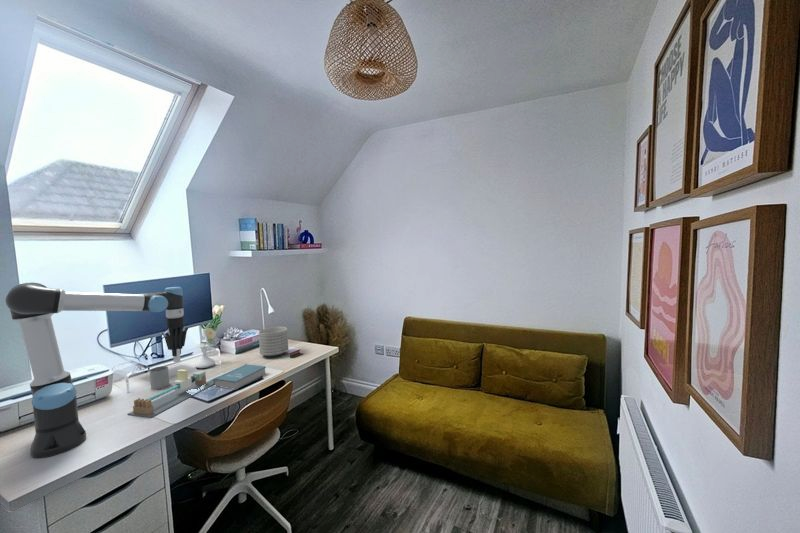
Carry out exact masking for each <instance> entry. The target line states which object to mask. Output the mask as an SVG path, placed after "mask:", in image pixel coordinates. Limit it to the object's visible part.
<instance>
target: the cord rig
mask: <svg viewBox="0 0 800 533" xmlns="http://www.w3.org/2000/svg"><path fill="white" fill-rule="evenodd" d="M190 377H191V381H192V386H190V387H188V388H186V389H184V390H182V391H179V390H175V389H176V388H178V387H180V384H178V385H176V386H173V387H169V388H168V389H166V390H164V391H162V392H159V393H157V394H155V395H153V396H151V397H149V398H146V399H144V398H137V399H134V400H133V406H132V410H133V411H130V412H128V413H127V416H133V417H134V416H135V417H142V418H148V419H152V418H154V417H156V416H157V415H159V414H161V413H163V412H165V411H167V410H169V409H171V408H172V407H174V406H177V405H178V404H180V403H182V402H183V401H184V402H185V401H186V400H187V399H189V398H192V397H193V396H192V395H191V394H189V393H187V392H186V391H188V390H191V389H197V390H198V388H199V389H200V387H201V386H202V385H204V384H206V383H207V384H206V385H205V387H204V389H205V388H207V387H208V386H210V385H212V386H214V385H213V384H214V383H213V382H212V383H211V382H207V377H206V370H205V371H203V370H199V371H195V372H194V373H192V376H190ZM210 387H211V386H210ZM208 388H209V387H208ZM208 388H207V389H208ZM202 390H203V389H202ZM205 390H206V389H205ZM200 391H201V389H200ZM203 391H204V390H203ZM201 392H202V391H201ZM165 394H166V395H165Z"/></svg>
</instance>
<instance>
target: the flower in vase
mask: <svg viewBox="0 0 800 533" xmlns="http://www.w3.org/2000/svg"><path fill="white" fill-rule="evenodd" d="M204 335H205V337H206V340H205V341H200V344H201V345H200V346H199V348H200V349H201V352H202V357H201V358H200V359H199V360H198V361H196V363H195V368H197V369H205V368H209V367H213V366H214V365H215V363H216V360H214V359H212V358H211V357H209V356H208V354H207V353H208V352H207V351H208V347H209V344H207V342H208V343H212V342H213V339H214V338H215V337H216V336H217V335H216V331H215V330H214V329H213V328H212V327H209V328H208V327H207V328H206V329H205V330H204Z"/></svg>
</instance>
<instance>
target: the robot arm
mask: <svg viewBox="0 0 800 533" xmlns="http://www.w3.org/2000/svg"><path fill="white" fill-rule="evenodd" d="M183 292H184V291H183V288H182V287H181V286H173V287H172V286H170V287H166V288H164V291H159V292H149V293H148V292H147V293H145V292H143V293H138V294H136V293H134V294H133V293H108V292H107V293H105V292H85V291H84V292H83V291H82V292H81V291H80V292H79V291H65V290H64V289H63V288H51V287H47V286H46V285H45V284H42V283H38V282H24V283H20V284H17V285H15V286H14V287H12V288H11V289H9V291H8V292H7V294H6V297H5V305H6V306H7V308H8V309H9V312H10V316H11V319H12V321H14V322H17V323H18V324H19V325H20V330H21V333H22V337H23V341H24V346H25V349H26V352H27V357H28V361H29V364H30V368H31V372H32V378H33V380H32V381H31V382H30V383H29V388H30V391H31V396H32V398H31V405H32V410H33V419H34V420H33V422H34V428H35V435H34V437H33V440H32V442H31V443H32V444H31V447H30V450H29V451H30V457H32V458H35V459H39V458H40V459H41V458H48V457H52V456H56V455H58V454H62V453H64V452H65V453H66V452H67V451H69V450H72V449H74V448H75V447H77V446H79V445H81V444H82V443H83V442H85V441H86V439H87V432H86V430H85V428H84V427H83V425H82V423H81V422H80V420H79V410H78V399H77V393H78V391H77V388H76V386H75V384H73V379H72V376H71V373H70V372H69V371H67V370H65V369H64V365H63V361H62V357H61V353H60V352H61V351H60V348H59V345H58V340H57V337H56V331H55V329H54V325H53V321H52V316H53V315H55V314H59V313H61V312H63V311H64V312H67V311H69V312H70V311H72V312H76V311H77V312H78V311H79V312H82V311H83V312H93V311H94V312H107V311H108V312H123V311H124V312H153V313H161V312H163V311H165V318H166V319H165V321H166V324H165V325H166V326H167V327H166V331H165V332H162V336H163V337H164V341H165V343H166V348H167V350H168V351H171V354H172V357H173V363H180V362H181V354H182V349H183V347H185V344H186V339H187V338H186V337H187V332H188V330H189V327H185V325H184V324H185V317H184V312H185V311H184V310H185V309H184V294H183Z"/></svg>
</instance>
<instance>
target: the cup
mask: <svg viewBox="0 0 800 533" xmlns="http://www.w3.org/2000/svg"><path fill="white" fill-rule="evenodd" d="M169 376H170V375H169V366H167V365H164V366H163V365H161V366H156V367H154V368H151V369H150V370H149V379H150V389H151V390H161V389H164V388H167V387H169V386H170V377H169Z"/></svg>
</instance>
